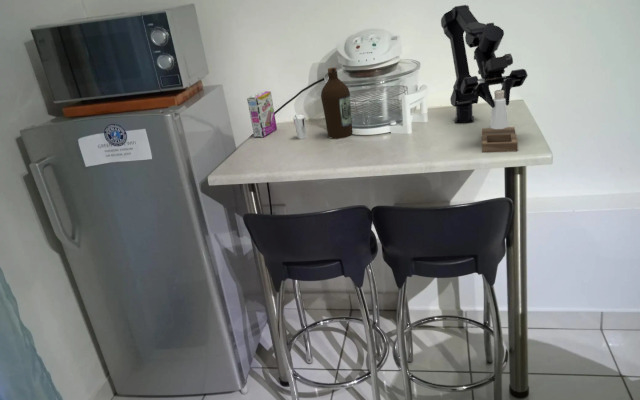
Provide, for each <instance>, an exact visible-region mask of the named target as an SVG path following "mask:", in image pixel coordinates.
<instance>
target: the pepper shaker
mask: <svg viewBox="0 0 640 400" xmlns="http://www.w3.org/2000/svg"><path fill="white" fill-rule="evenodd" d="M493 93H494V94H493V95H494V98H493V101H494V105H495V107H494V108H492V107H491V116H490V125H489V128H492V129H504V128H507V127H509V122H508V121H509V120H508V111H507V105H506V99H505V98H504V90H501V89H497V90H494V92H493Z"/></svg>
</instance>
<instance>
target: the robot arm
mask: <svg viewBox="0 0 640 400" xmlns="http://www.w3.org/2000/svg"><path fill="white" fill-rule="evenodd" d="M440 26H441V28H442V29H443V34H444V35H445V36H446V37H447V38H448V39H449V41H450V48H451V54H452V60H453V65H454V73H455V77H456V78H455V79H456V80H455V82H454V84H453V88H452V89H453V90H452V93H451V94H450V95H451V96H450V99H449V100H450V104H451V105H452V107H454V108H455V112H456V113H455V114H456V117H455V119H454V123H455V124H460V123H474V118H475V117H474V114H473V105H474V104H476V105H477V104H478V102H479V97H480V98H481V99H482V100H484V101H485V102H486V103H487V104H488V105H489V106H490V107H491V109H492V108H494V107H495V105H494V101H493V99H494V98H493V95H492V92H491V91H490V86H495V85H501V89H500V90H504V98H505V99H506V107H507V106H509V105H510V97H511V96H510V95H511V89H513V88H517V87H521V86H523V84H524V82H525V81H526V79H527V78H528V76H529V75H528V73H527V70H526V69H524V68H519V69H512V70H511V71H510V74H509V75H504V74H505V72H506V70H505V69H506V68H507V69H508V66H511V65H513V64H514V59H513V56H512V53H505V54H504V55H503V56H499V57H498V56H496V54H495V53H496V51H498V50H499V46H500V44H501V43H502V40H503V38H504V34H505V33H504V29H503V28H502V27H501V26H498V25H496V24H495V23H494V22H488V23H483V22H480V21H478V19H477V18H476V17H475V16H474V14H473V13H472V12H471V10H470V6H469V5H468V4H467V5H466V4H461V5H457V6H454V7H452V8H451V9H450V10H449V11H447V12H446V13H444V14H443V15H442V17H441V19H440ZM464 33H465V37H464ZM465 44H466V45H467V46H468V47H469V48H470V49H471V48H475V49H474V50H473V60H475V62H476V64H477V68H478V71H477V73H478V75H480V78H478V76H476V75H473V76H472V75H471V74H470V73H471V72H470V68H469V62H468V56H467V51H466V45H465ZM503 75H504V76H503Z"/></svg>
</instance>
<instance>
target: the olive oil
mask: <svg viewBox="0 0 640 400" xmlns="http://www.w3.org/2000/svg"><path fill="white" fill-rule="evenodd" d="M327 77H328V79H327V81H326V82H325V83H324V85H323V88H322V89H321V94H320V99H321V103H322V104H321V105H322V108H323V114H324V120H325V124H326V125H325V126H326V130H327V137H328V138H330V139H342V138H343V139H344V138H347V137H350V136H351V135H353V117H352V106H351V93H350V89H349V87H348V86H347V85H346V83H344V82H343V81H342V80H341V79H340V78H338V77H339V76H338V70H337V67H334V66H333V67H328V68H327Z"/></svg>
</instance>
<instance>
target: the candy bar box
mask: <svg viewBox="0 0 640 400" xmlns="http://www.w3.org/2000/svg"><path fill="white" fill-rule="evenodd" d="M246 100H247V105H248V110H249V115H250V121H251V127H252V131H253V132H252V133H253V137H254V138H260V139H263V138H265V137H267V136H268V135H270V134H272V133H274V132H275V131H277V129H278V127H277V121H276V115H275V109H274V102H273V97H272V91H267V90H266V91H260V92H258V93H255V94H253V95H251V96H248V97H247V98H246Z"/></svg>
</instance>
